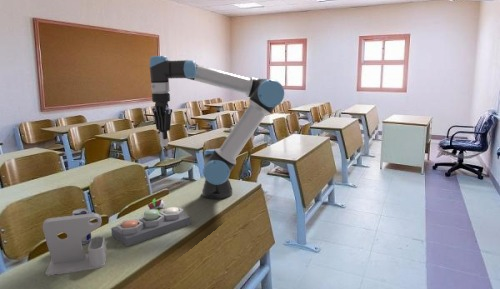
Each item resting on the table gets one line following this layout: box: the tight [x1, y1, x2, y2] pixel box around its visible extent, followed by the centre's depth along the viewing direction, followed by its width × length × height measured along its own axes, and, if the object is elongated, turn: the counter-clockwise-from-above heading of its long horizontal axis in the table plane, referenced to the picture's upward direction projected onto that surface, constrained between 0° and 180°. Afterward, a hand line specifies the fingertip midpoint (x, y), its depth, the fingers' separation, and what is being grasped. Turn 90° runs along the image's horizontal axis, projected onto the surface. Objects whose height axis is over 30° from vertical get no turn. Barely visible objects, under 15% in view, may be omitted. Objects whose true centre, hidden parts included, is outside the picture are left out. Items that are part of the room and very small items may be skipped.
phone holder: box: [42, 212, 108, 276], centre depth 115 cm, size 17×10×18 cm, turn 107°
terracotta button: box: [122, 219, 138, 228], centre depth 134 cm, size 6×6×2 cm
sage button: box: [143, 209, 159, 221], centre depth 140 cm, size 6×6×2 cm
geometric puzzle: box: [147, 197, 167, 213], centre depth 157 cm, size 7×7×8 cm
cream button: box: [164, 206, 179, 214], centre depth 146 cm, size 6×6×2 cm
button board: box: [110, 206, 192, 247], centre depth 141 cm, size 27×13×5 cm, turn 134°
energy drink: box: [71, 207, 92, 245], centre depth 131 cm, size 5×5×12 cm
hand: (164, 145), depth 160 cm, fingers closed
